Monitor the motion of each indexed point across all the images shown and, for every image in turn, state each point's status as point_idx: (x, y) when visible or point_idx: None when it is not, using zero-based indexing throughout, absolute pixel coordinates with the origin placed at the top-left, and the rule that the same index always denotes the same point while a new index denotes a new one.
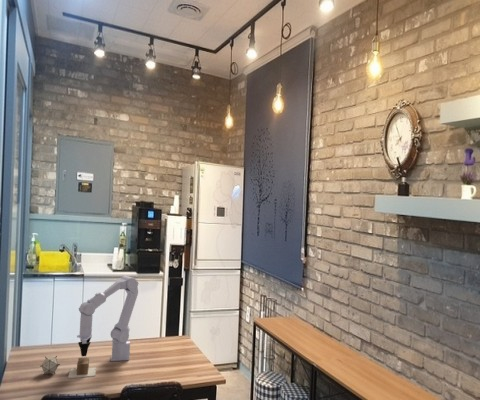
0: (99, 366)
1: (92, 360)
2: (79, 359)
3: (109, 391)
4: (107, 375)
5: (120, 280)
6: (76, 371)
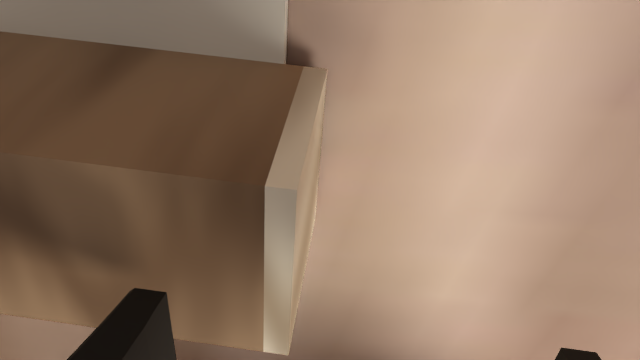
0: (333, 318)
1: (625, 279)
2: (167, 196)
3: None
4: (40, 341)
5: None
6: (150, 34)
